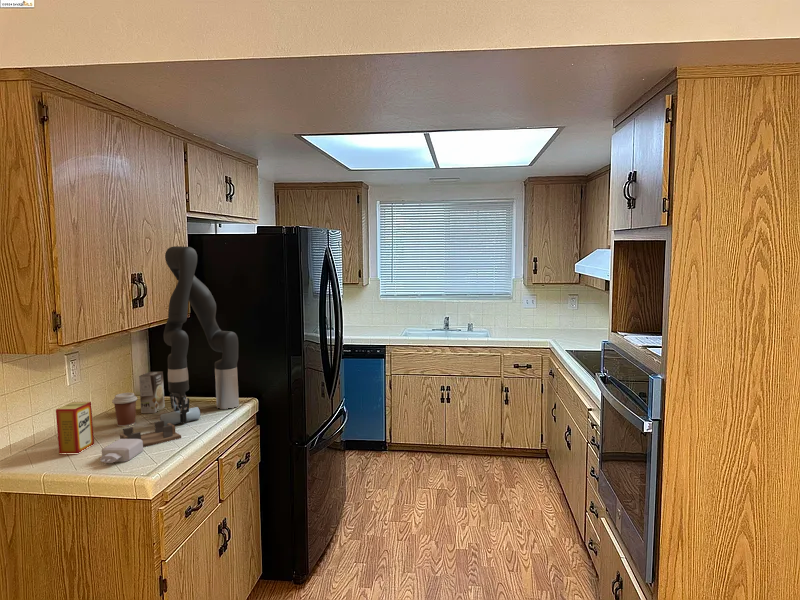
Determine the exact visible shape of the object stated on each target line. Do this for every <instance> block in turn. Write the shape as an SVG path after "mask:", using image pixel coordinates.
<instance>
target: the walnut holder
mask: <svg viewBox="0 0 800 600" xmlns="http://www.w3.org/2000/svg"><path fill="white" fill-rule="evenodd" d="M122 431H123V432H122V433H119V439H141V440H142V441H143V448H146V446H147V447H151V446H155V445H159V444H162V443H166V442H167V441H168V442H171V440H172V441H175V439H176V440H179V438H180V439H182V435H181V434H179V433H178V432H176V425H173V424H171V423H167V426H164V421H163V420H162V421H160V420H159V421H155V422H154V431H151V432H146V433H143V434H142V433H141V431H138V432H134V427H133V426H129V427H124V428H123V429H122ZM116 440H117V439H116ZM116 440H114V442H115V441H116Z"/></svg>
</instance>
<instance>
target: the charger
mask: <svg viewBox="0 0 800 600" xmlns="http://www.w3.org/2000/svg"><path fill="white" fill-rule="evenodd" d="M143 451H144V447H143V441H142V440H141V439H120V438H118V439H116V441H115V440H114V441H113V442H112V443H110V444H108V445H107V446H105V447H103V448H102V449H101V457H100V458H99V460H100V462H101V463H105V464H112V463H114V462H115V463H116V462H118V463H119V462H120V463H123V462H129V461H131V460H132V459H133V458H135V457H136V456H138V455H139V454H141V453H142V452H143Z"/></svg>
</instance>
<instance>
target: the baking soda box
mask: <svg viewBox="0 0 800 600" xmlns="http://www.w3.org/2000/svg"><path fill="white" fill-rule="evenodd" d="M55 418H56V429H57V430H56V431H57V444H58V445H57V446H58V454H59V453H79V452H81V451H82V450H84V449H86V448H87V447H89V446H91V445H93V444H94V445H95V441H94V440H95V439H94V437H95V436H94V424H93V410H92V402H91V401H71V402H69V403H67V404H64V405H63V406H60V407H58V408H56V409H55ZM94 445H93V446H94ZM91 447H92V446H91ZM86 450H87V449H86ZM81 453H82V452H81ZM79 454H80V453H79Z"/></svg>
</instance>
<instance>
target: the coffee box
mask: <svg viewBox="0 0 800 600" xmlns="http://www.w3.org/2000/svg"><path fill="white" fill-rule="evenodd" d="M138 377H139V378H138V379H139V381H138V383H139V396H140V399H139V400H140V413H141V414H155V413H158V412H159V411H161V410H163V409H164V408H165V407H166V406H165V388H164V371H148V372H146V373H144V374H141V375H139V376H138ZM157 411H158V412H157Z"/></svg>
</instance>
